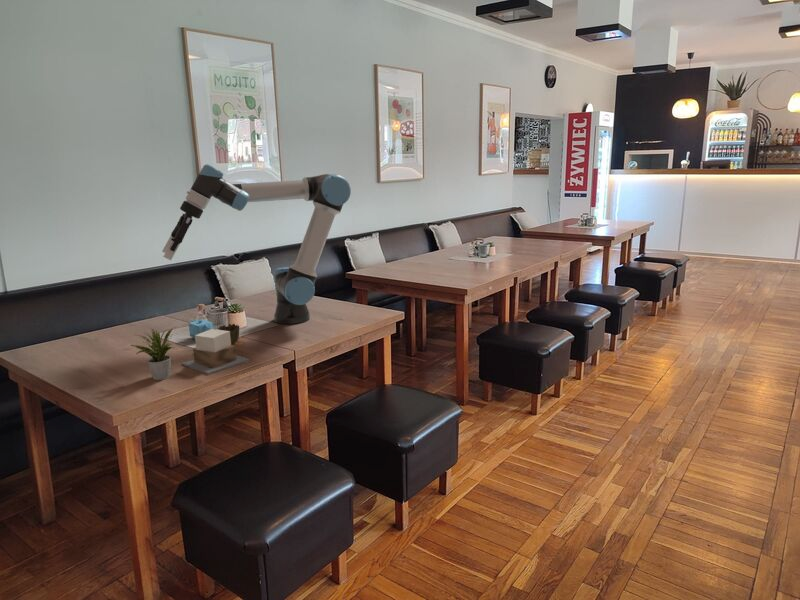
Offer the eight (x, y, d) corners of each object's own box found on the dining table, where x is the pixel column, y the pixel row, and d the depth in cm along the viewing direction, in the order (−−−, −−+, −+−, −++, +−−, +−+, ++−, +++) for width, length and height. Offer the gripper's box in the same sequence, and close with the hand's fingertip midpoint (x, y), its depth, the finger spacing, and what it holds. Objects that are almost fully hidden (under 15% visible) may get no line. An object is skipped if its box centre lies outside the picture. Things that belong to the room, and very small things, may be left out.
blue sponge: (185, 337, 224) (183, 318, 222) (199, 333, 228) (197, 315, 226) (202, 342, 216) (200, 323, 214) (216, 338, 221) (214, 320, 219)
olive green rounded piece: (222, 351, 205) (220, 330, 203) (218, 346, 211) (216, 325, 209) (243, 348, 208) (241, 327, 206) (238, 342, 215) (236, 322, 213)
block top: (213, 342, 198) (211, 328, 196) (231, 345, 194) (229, 331, 193) (196, 349, 191) (194, 335, 189) (215, 352, 187) (213, 337, 186)
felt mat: (222, 351, 205) (222, 350, 205) (249, 360, 195) (249, 359, 195) (181, 364, 193) (181, 363, 193) (208, 374, 183) (208, 373, 183)
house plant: (163, 365, 193) (157, 319, 189) (195, 370, 187) (189, 323, 183) (129, 380, 180) (122, 331, 176) (162, 386, 175) (155, 335, 171)
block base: (219, 354, 201) (218, 340, 199) (236, 359, 194) (235, 346, 193) (194, 362, 193) (192, 348, 192) (211, 368, 187) (209, 354, 186)
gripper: (182, 197, 216) (155, 246, 215) (187, 201, 193) (157, 255, 193) (200, 207, 219) (174, 255, 219) (207, 212, 197) (178, 265, 197)
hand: (166, 255), depth 206 cm, fingers open, 13 cm apart
